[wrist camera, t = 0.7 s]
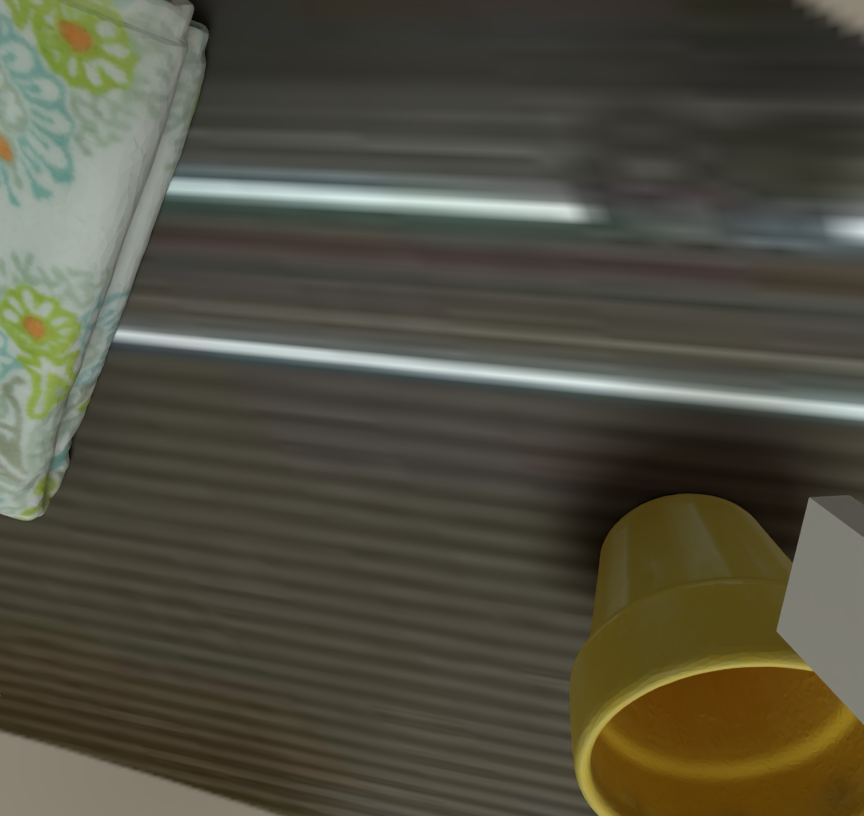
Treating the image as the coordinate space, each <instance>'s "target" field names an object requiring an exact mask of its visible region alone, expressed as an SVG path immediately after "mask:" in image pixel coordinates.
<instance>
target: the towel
mask: <svg viewBox="0 0 864 816" xmlns="http://www.w3.org/2000/svg"><path fill="white" fill-rule="evenodd" d="M193 12H194V5H193V4H192V3H191V2H189V1H188V0H0V514H3V515H7V516H10V517H13V518H16V519H19V520H28V521H29V520H33V519H35V518H36V517H39V516H41V515H43V514H44V513H45V511H46V509H47V507H48V505H49V500H50V499H51V498H52V496H53V495H54V494H55V493H56V491H57V490H58V488H59V487H60V485H61V482H62V479H63V476H64V474H65V471H66V470H67V468H68V465H69V462H70V459H69V454H68V451H69V449H70V446H71V438H72V437H73V435H74V434H75V432H76V431H77V429H78V427H79V425H80V423H81V421H82V419H83V417H84V415H85V412H86V408H87V405H88V403H89V402H90V398H91V395H92V392H93V390H94V387H95V385H96V382H97V378H98V376H99V374H100V373H101V370H102V367H103V366H104V363H105V358H106V356H107V354H108V350H109V347H110V345H111V342H112V340H113V338H114V335H115V333H116V330H117V327H118V324H119V322H120V318H121V315H122V312H123V310H124V308H125V306H126V303H127V300H128V297H129V294H130V291H131V288H132V285H133V282H134V279H135V276H136V273H137V270H138V267H139V265H140V262H141V259H142V257H143V255H144V252H145V250H146V248H147V245H148V242H149V238H150V235H151V232H152V230H153V227H154V225H155V222H156V219H157V216H158V214H159V211H160V208H161V205H162V202H163V199H164V197H165V194H166V191H167V189H168V186H169V183H170V181H171V178H172V176H173V174H174V171H175V168H176V165H177V163H178V161H179V159H180V156H181V153H182V150H183V147H184V143H185V140H186V137H187V134H188V131H189V127H190V123H191V120H192V117H193V114H194V112H195V109H196V105H197V102H198V99H199V95H200V91H201V86H202V83H203V79H204V74H205V67H206V58H205V48H206V45H207V42H208V38H209V32H208V29H207V27H206V26H205V25H203V24H201V23H198V22H195V21H193V20H191V19H192V16H193Z"/></svg>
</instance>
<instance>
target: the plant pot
mask: <svg viewBox="0 0 864 816" xmlns="http://www.w3.org/2000/svg"><path fill="white" fill-rule="evenodd" d="M792 565H793V563H792V562H791V561H790V559H789V558H788V557H787V556H786V555H785V554H784V553H783V551H782V550H781V549H780V548H779V547H778V546H777V544H776V543H775V542H774V541H773V540H772V539H771V537H770V536H769V535H768V534H767V533H766V531H765V530H764V529H763V528H762V527H761V526H760V524H759V523H758V522H757V521H756V520H755V519H754V518H753V517H752V515H750V514H749V513H748V512H747V511H745V510H744V509H743V508H741V507H739V506H738V505H736V504H734V503H732V502H730V501H728V500H725V499H722V498H719V497H715V496H710V495H704V494H676V495H669V496H663V497H660V498H657V499H654V500H651V501H649V502H646V503H644V504H642V505H640V506H638V507H636V508H634V509H633V510H632V511H630V512H629V513H628V514H626V515H625V516H624V517H622V518H621V519H620V520H619V521H618V522H617V523H616V524H615V525H614V526H613V528H612V529H611V530H610V532H609V533H608V535H607V537H606V539H605V541H604V543H603V546H602V549H601V554H600V562H599V570H598V579H597V587H596V594H595V603H594V611H593V619H592V626H591V633H590V637H589V638H588V639H587V641H586V642H585V643H584V645H583V646H582V648H581V650H580V652H579V653H578V656H577V658H576V660H575V663H574V666H573V669H572V674H571V679H570V725H571V738H572V750H573V759H574V768H575V773H576V777H577V782H578V784H579V787H580V789H581V791H582V794H583V795H584V797H585V799H586V800H587V802H588V803H589V805H590V806H591V807H592V809H593V810H594V811H595V812H596V813H597V814H598V815H599V816H864V724H863V723H862V722H861V721H860V720H859V719H858V718H857V717H856V716H855V715H854V714H853V713H852V712H851V711H850V709H849V708H848V707H847V706H846V705H845V704H844V703H843V702H842V701H841V700H840V699H839V698H838V697H837V696H836V694H835V693H834V692H833V691H832V690H831V689H830V688H829V687H828V686H827V685H826V684H825V683H824V682H823V681H822V679H821V678H820V677H819V676H818V675H817V674H816V673H815V672H814V671H813V670H812V669H811V668H810V667H809V666H808V664H807V663H806V662H805V661H804V660H803V659H802V658H801V657H800V656H799V655H798V654H797V653H796V652H795V651H794V650H793V648H792V647H791V646H790V645H789V644H788V643H787V642H786V641H785V640H784V639H783V638H782V637H781V636H780V635H779V633H778V632H777V631H776V630H777V626H778V622H779V618H780V614H781V610H782V606H783V602H784V597H785V593H786V589H787V585H788V581H789V577H790V573H791V569H792Z"/></svg>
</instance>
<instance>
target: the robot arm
mask: <svg viewBox="0 0 864 816" xmlns="http://www.w3.org/2000/svg"><path fill="white" fill-rule="evenodd" d="M776 631H777V632H778V633H779V635H780V636H781V637H782V638H783V639H784V640H785V641H786V642H787V643H788V644H789V645H790V646H791V647H792V648H793V650H794V651H795V652H796V653H797V654H798V655H799V656H800V657H801V658H802V659H803V660H804V661H805V662H806V663H807V664H808V666H809V667H810V668H811V669H812V670H813V671H814V672H815V673H816V674H817V675H818V676H819V677H820V678H821V679H822V681H823V682H824V683H825V684H826V685H827V686H828V687H829V688H830V689H831V690H832V691H833V692H834V693H835V694H836V696H837V697H838V698H839V699H840V700H841V701H842V702H843V703H844V704H845V705H846V706H847V707H848V708H849V709H850V711H851V712H852V713H853V714H854V715H855V716H856V717H857V718H858V719H859V720H860V721H861V722H862V723H863V724H864V505H863V504H862V503H860V502H859V501H857V500H856V499H854V498H853V497H851V496H850V495H842V496H823V497H809V500H808V504H807V508H806V512H805V516H804V520H803V524H802V528H801V532H800V536H799V541H798V545H797V549H796V553H795V557H794V561H793V565H792V569H791V573H790V577H789V581H788V585H787V589H786V593H785V597H784V602H783V606H782V610H781V614H780V618H779V622H778V626H777V630H776ZM0 697H1V696H0Z"/></svg>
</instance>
